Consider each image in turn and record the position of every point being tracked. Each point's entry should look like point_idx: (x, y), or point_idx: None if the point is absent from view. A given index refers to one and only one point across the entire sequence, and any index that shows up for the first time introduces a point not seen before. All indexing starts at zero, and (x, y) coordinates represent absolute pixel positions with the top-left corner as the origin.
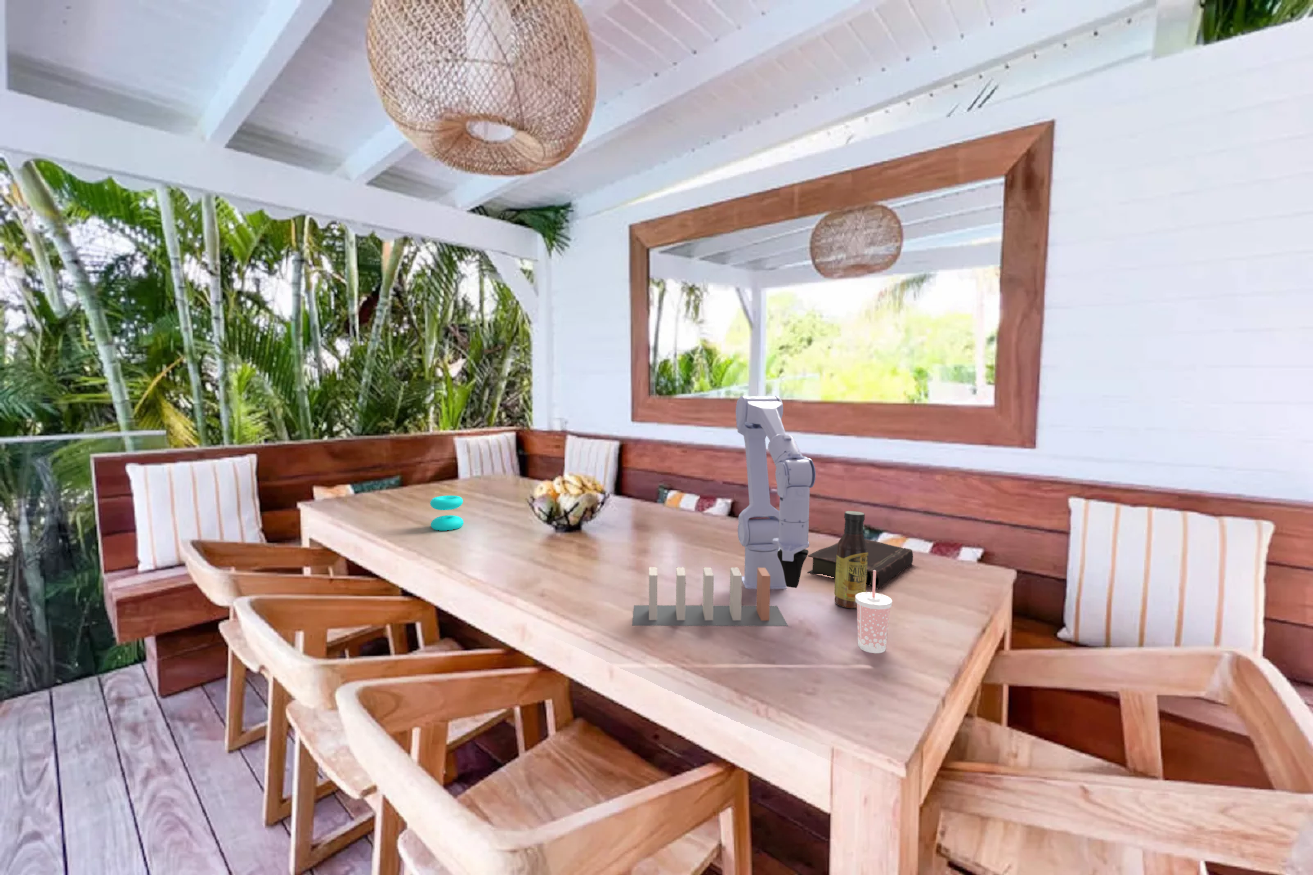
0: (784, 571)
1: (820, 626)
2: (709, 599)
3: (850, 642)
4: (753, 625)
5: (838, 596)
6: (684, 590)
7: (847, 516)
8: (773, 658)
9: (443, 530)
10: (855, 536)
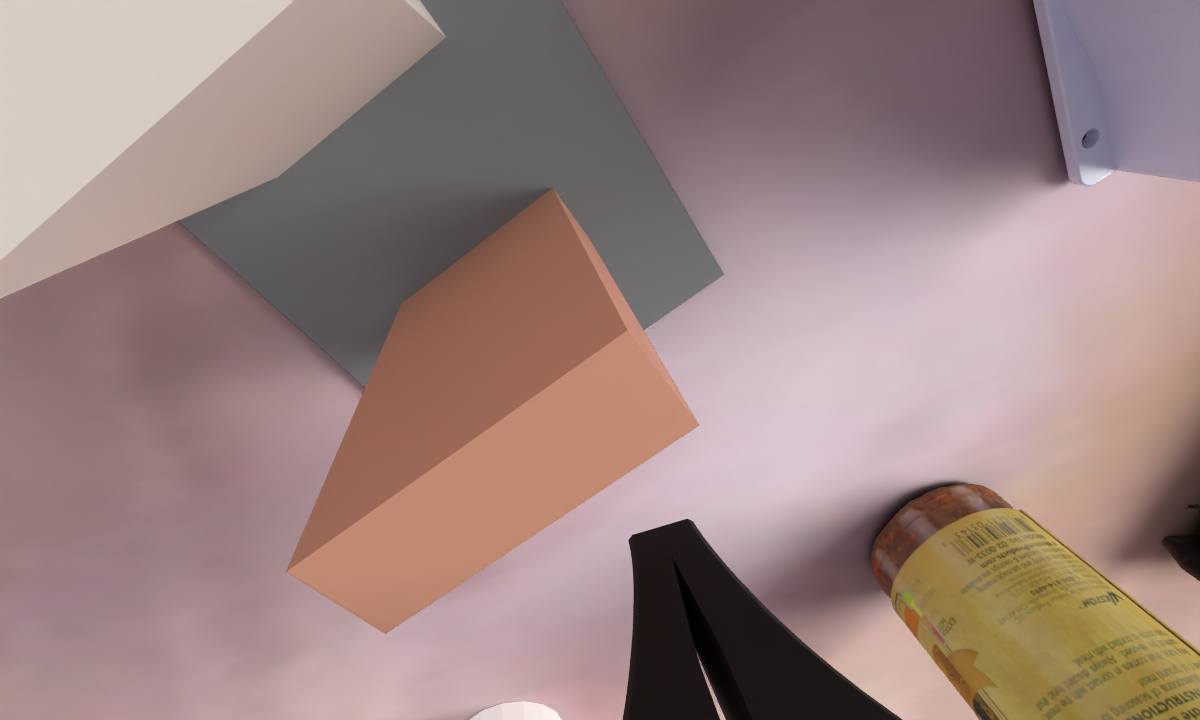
0: (628, 689)
1: (587, 551)
2: None
3: (500, 682)
4: (273, 303)
5: (919, 555)
6: None
7: None
8: (14, 566)
9: None
10: None
